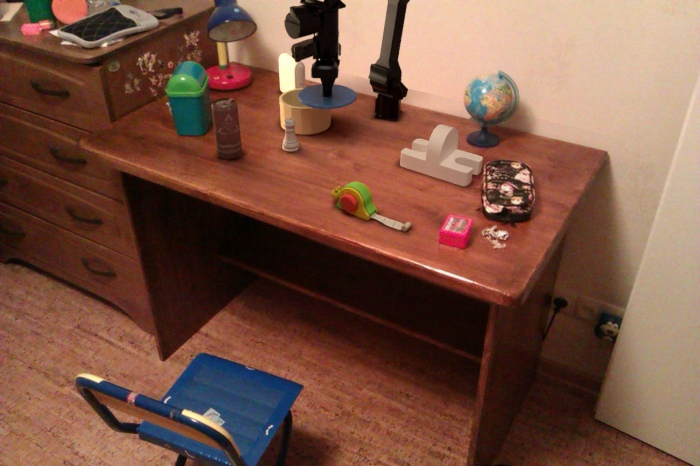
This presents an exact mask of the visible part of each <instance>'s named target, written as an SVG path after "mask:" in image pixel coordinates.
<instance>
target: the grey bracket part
mask: <svg viewBox="0 0 700 466" xmlns="http://www.w3.org/2000/svg"><path fill="white" fill-rule="evenodd" d="M458 145H459V130H458V129H457V128H456V127H454V126H450V125H446V124H443V123H440V124H437V126H436V127H434V129H433V130H432V132H431V135H430V137H429V139H428V140H427V139H424V138H415V140H413V141H412V142H411V148H407V147H404V148H403V149H402V150H401V151H400V158H399V166H400V167H402V168H405V169H408V170H411V171H413V172H416V173H420V174H423V175H426V176H430V177H432V178H436V179H438V180H442V181H445V182H448V183H450V184H455V185H457V186H461V187H467V186H469V185H470V184H471V183H472V179H473V175H475V176H479V175H480V174H481V172H482V168H483V160H484V157H483V156H482V155H479V154H475V153H471V152H468V151H466V150H461V149H458Z"/></svg>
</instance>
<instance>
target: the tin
mask: <svg viewBox="0 0 700 466" xmlns="http://www.w3.org/2000/svg"><path fill="white" fill-rule="evenodd" d="M302 89H304V88H298V89H293V90H289V91H287V92H284V93H283V92H282V94H281V95H279V97H278V98H279V99H278V100H279V114H280V115H279V116H280V117H279V119H280V127H281V128H282V129H283V130H284V129H285V126H284V125H283V123H284V120H285V119H286V118H288V119H290V118H294V120H295V122H296V125H295V128H296V129H295V135H305V136H306V135H307V136H308V135H315V134H319V133H322V132H325V131H326V130H328V129H329V128H330V126H331V123H332V113H331V110H332V109H318V108H312V107H309V106H306V105H304V104H302V103H301V102H300V101H299V100H298V93H299V92H300V91H301V90H302Z"/></svg>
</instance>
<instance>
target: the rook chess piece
mask: <svg viewBox="0 0 700 466" xmlns="http://www.w3.org/2000/svg"><path fill="white" fill-rule="evenodd" d="M283 125H284V126H285V129H283V130H284V138H283V141H282V143H281V144H282V146H281V149H282V150H283V151H284V152H287V153H294V152H297V151H298V150H299V149H300V141H299V140H298V138H297V136H296V135H297V134H295V129H296V128H295V125H296V122H295V120H294V118H290V119H288V118H286V119H285V120H284V123H283Z"/></svg>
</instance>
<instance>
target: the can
mask: <svg viewBox="0 0 700 466" xmlns="http://www.w3.org/2000/svg"><path fill="white" fill-rule="evenodd" d="M211 114H212V121H213V123H212V124H213V129H214V138H215V146H216V152H217V156H218V157H219V158H220V159H221V160H225V161H232V160H236V159H238V158H240V157H241V156H242V154H243V147H242V136H241V127H240V117H239V108H238V103H237V102H236V100H235V99H234V98H230V97H221V98H217V99H215V100H213V101H212V104H211Z"/></svg>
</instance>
